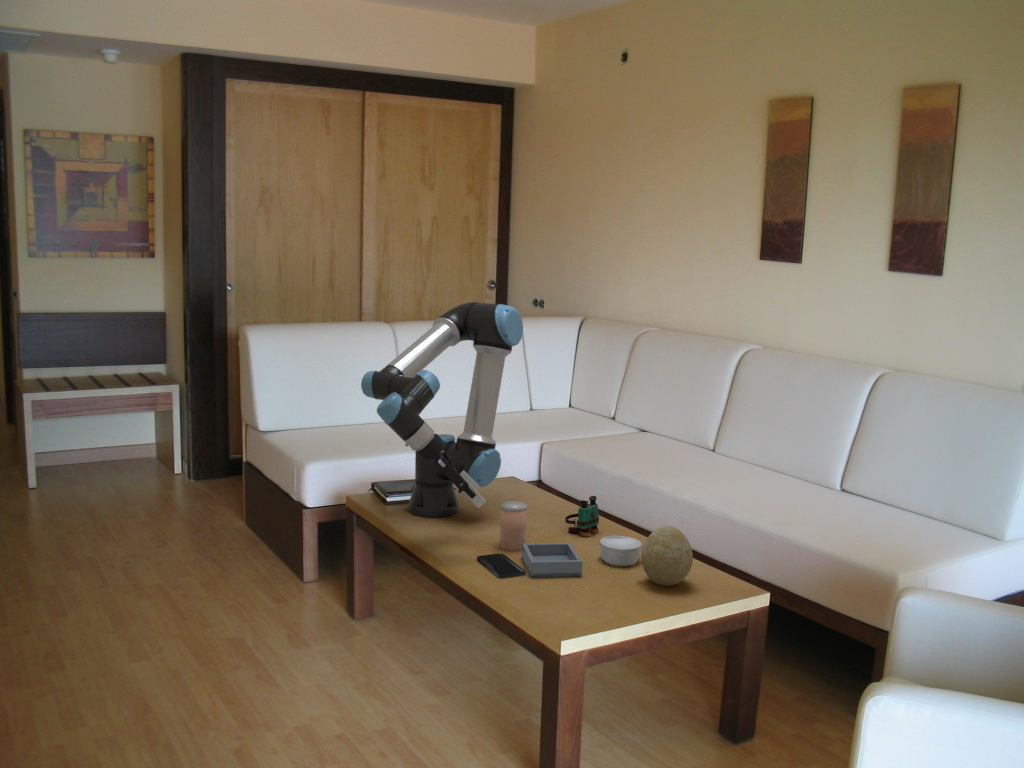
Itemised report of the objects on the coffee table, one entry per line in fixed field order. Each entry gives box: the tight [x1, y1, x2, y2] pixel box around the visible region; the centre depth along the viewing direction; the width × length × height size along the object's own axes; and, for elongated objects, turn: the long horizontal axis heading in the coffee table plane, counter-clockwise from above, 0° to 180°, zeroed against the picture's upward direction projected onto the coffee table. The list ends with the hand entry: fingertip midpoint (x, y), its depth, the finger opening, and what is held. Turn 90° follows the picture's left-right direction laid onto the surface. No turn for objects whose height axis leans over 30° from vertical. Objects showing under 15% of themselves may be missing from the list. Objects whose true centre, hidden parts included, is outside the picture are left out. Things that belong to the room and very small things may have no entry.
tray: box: [521, 542, 583, 579], centre depth 246 cm, size 14×13×4 cm
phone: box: [476, 553, 526, 580], centre depth 245 cm, size 8×1×15 cm
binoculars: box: [564, 495, 600, 538], centre depth 275 cm, size 9×11×10 cm
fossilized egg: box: [640, 524, 694, 587], centre depth 237 cm, size 13×13×15 cm
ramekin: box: [599, 535, 643, 567], centre depth 253 cm, size 11×11×5 cm
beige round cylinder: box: [499, 500, 528, 552], centre depth 260 cm, size 7×7×12 cm
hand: (479, 497), depth 256 cm, fingers open, 13 cm apart
